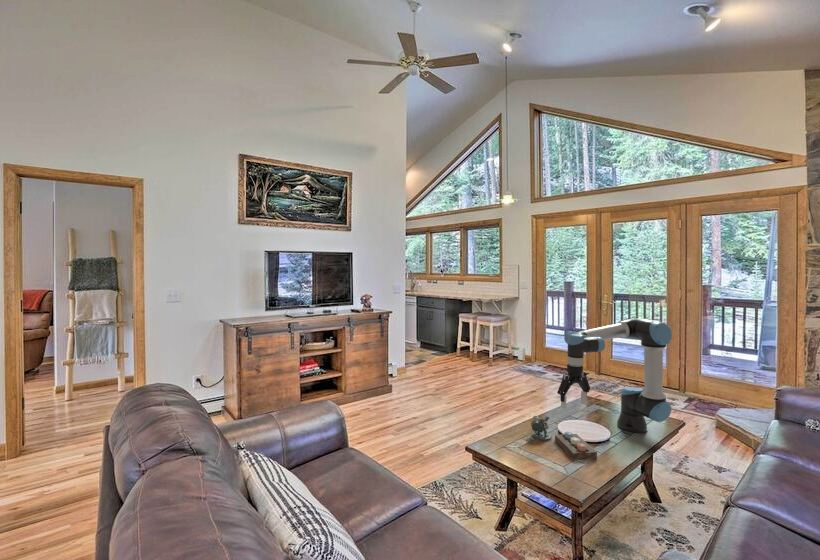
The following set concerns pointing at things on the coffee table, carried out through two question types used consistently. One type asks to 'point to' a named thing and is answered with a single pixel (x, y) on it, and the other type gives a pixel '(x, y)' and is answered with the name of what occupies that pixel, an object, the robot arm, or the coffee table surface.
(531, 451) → the coffee table surface
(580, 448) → the button terracotta
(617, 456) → the coffee table surface
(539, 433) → the figurine
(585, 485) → the coffee table surface
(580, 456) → the button board
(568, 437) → the button slate
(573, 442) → the button cream
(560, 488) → the coffee table surface
